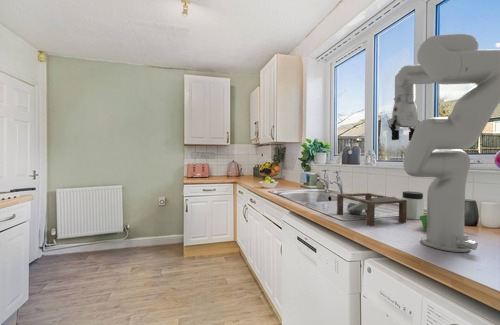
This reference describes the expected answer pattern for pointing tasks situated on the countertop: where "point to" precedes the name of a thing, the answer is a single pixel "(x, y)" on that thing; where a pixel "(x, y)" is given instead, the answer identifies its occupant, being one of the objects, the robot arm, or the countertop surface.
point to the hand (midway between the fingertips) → (404, 140)
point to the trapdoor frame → (372, 205)
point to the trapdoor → (364, 206)
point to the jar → (414, 204)
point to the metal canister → (354, 210)
